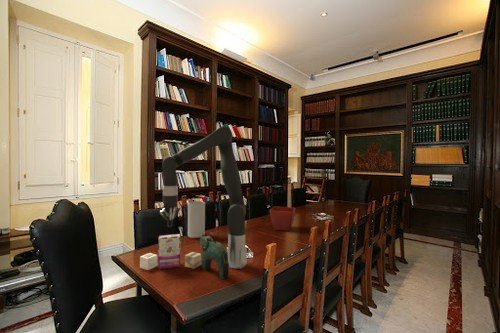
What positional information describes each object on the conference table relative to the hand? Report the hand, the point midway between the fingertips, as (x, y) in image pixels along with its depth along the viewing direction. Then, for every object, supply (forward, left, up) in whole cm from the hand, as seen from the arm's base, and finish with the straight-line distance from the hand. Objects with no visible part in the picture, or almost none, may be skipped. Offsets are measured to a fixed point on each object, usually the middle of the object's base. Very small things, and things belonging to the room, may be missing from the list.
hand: (169, 226), depth 131 cm
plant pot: (-25, -101, -21) cm, 106 cm away
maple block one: (-10, -7, -21) cm, 25 cm away
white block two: (+9, +6, -21) cm, 24 cm away
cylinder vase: (+24, -49, -21) cm, 59 cm away
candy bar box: (0, 0, -21) cm, 21 cm away
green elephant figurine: (-25, -6, -21) cm, 33 cm away
